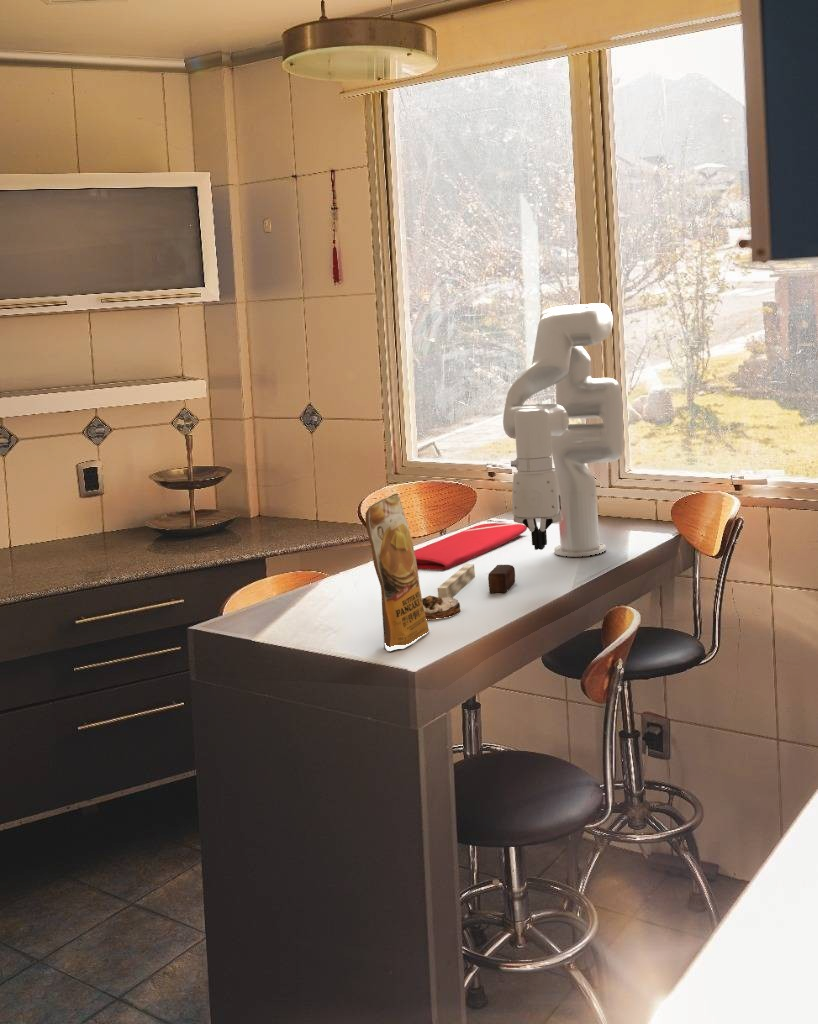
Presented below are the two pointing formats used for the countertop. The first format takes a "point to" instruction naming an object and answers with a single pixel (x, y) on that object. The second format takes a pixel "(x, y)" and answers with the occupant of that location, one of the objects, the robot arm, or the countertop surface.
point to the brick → (501, 578)
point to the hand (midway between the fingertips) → (539, 548)
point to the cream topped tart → (440, 607)
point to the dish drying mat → (466, 545)
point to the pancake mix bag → (396, 572)
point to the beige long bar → (457, 581)
